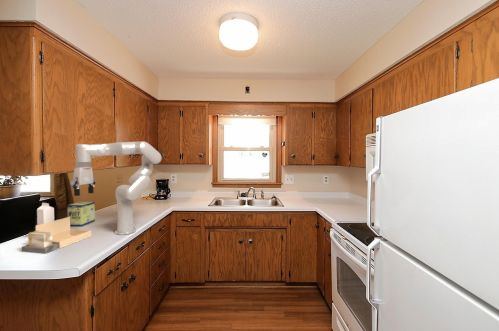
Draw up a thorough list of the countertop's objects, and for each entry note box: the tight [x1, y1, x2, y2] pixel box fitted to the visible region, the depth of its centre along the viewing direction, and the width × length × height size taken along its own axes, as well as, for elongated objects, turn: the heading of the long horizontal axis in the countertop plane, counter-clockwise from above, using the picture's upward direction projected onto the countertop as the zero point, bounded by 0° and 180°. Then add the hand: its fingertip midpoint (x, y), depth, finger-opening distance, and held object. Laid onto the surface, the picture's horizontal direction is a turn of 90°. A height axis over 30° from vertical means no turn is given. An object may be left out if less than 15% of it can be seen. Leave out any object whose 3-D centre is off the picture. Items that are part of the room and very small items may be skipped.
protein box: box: [66, 201, 96, 227], centre depth 191 cm, size 10×16×16 cm
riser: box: [21, 243, 58, 255], centre depth 136 cm, size 6×15×3 cm, turn 79°
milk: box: [36, 202, 55, 225], centre depth 156 cm, size 6×6×22 cm
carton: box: [35, 216, 92, 250], centre depth 151 cm, size 21×16×12 cm
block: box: [27, 230, 52, 248], centre depth 136 cm, size 4×10×7 cm, turn 78°
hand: (84, 194), depth 149 cm, fingers open, 9 cm apart
